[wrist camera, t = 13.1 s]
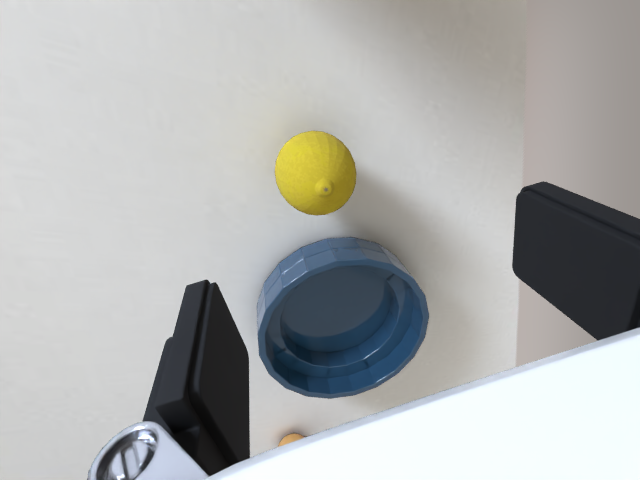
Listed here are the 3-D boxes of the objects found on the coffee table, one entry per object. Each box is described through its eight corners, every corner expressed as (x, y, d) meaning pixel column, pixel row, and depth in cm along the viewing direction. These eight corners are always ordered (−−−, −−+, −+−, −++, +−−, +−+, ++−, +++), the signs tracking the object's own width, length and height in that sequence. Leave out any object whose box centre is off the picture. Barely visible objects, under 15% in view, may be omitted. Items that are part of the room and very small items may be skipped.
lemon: (349, 134, 27) (383, 155, 20) (329, 199, 30) (354, 239, 22) (280, 115, 26) (292, 131, 19) (265, 185, 28) (270, 223, 21)
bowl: (321, 204, 30) (332, 224, 26) (437, 282, 36) (461, 309, 32) (226, 329, 33) (223, 364, 29) (345, 381, 39) (356, 416, 35)
